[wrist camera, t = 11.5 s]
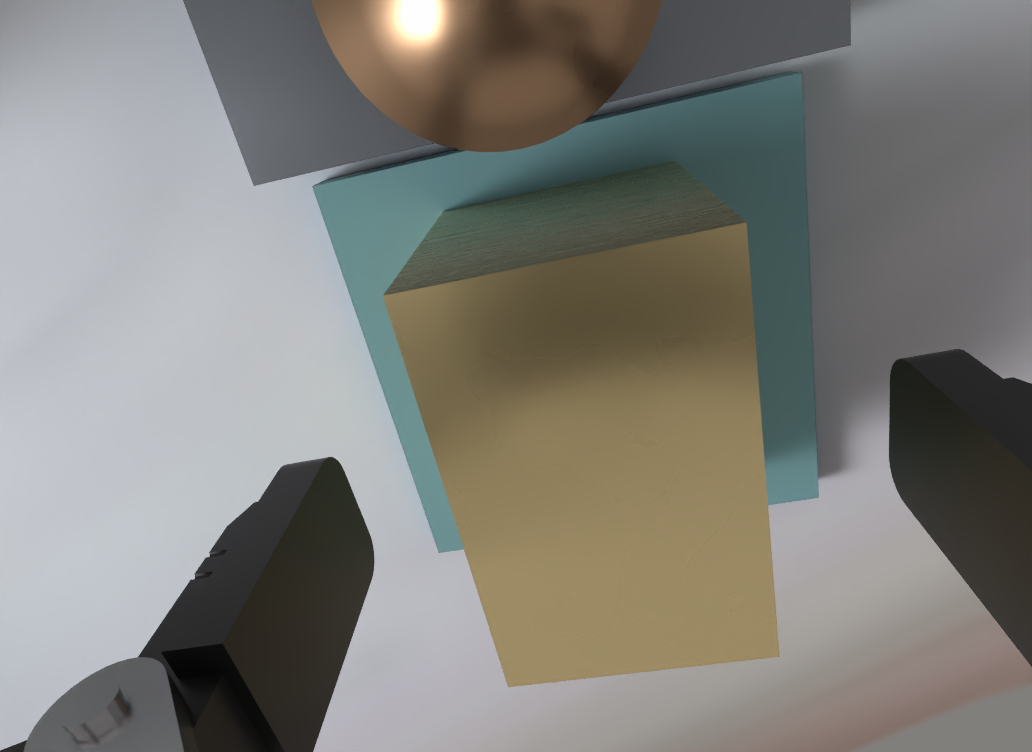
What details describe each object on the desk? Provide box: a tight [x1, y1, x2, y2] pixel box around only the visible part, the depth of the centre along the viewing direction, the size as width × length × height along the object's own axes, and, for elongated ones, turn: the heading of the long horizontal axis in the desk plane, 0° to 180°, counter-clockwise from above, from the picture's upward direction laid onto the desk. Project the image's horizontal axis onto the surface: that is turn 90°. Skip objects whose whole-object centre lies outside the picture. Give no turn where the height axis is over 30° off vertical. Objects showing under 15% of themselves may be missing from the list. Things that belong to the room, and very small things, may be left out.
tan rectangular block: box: [383, 161, 779, 687], centre depth 12 cm, size 7×4×5 cm, turn 13°
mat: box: [312, 72, 819, 553], centre depth 14 cm, size 9×9×1 cm
